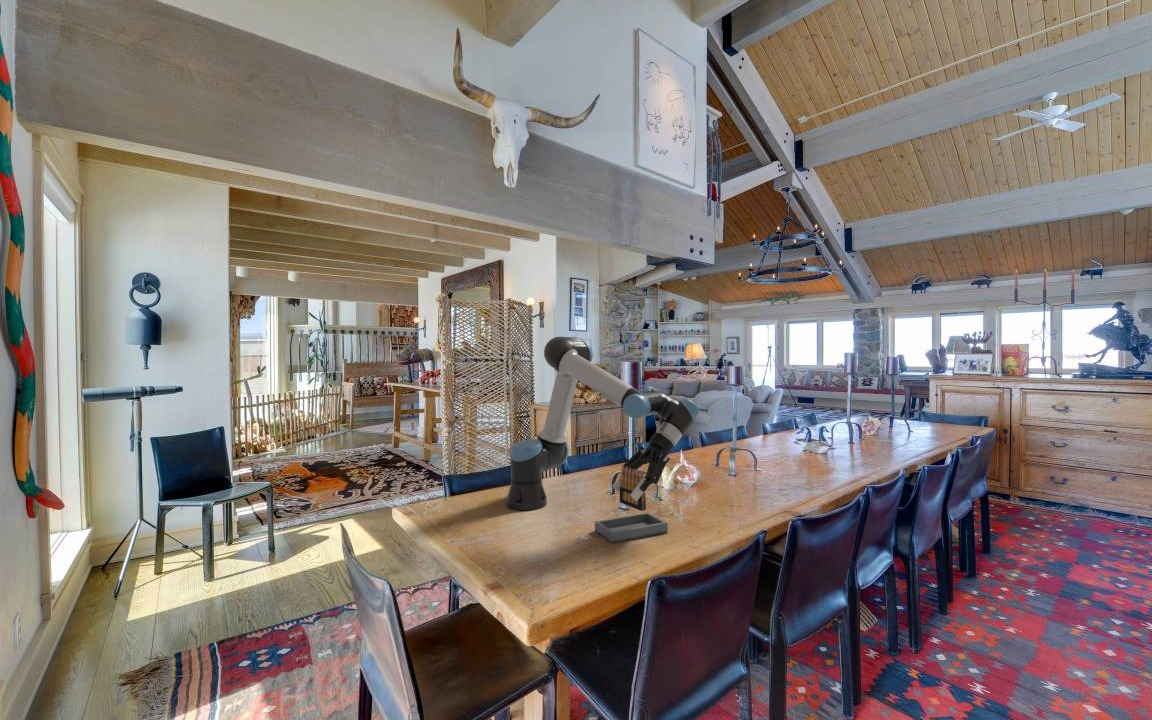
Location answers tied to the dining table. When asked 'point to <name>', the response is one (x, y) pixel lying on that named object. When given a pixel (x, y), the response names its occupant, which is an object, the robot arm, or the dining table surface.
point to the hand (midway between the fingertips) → (624, 493)
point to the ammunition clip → (631, 488)
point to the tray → (630, 527)
